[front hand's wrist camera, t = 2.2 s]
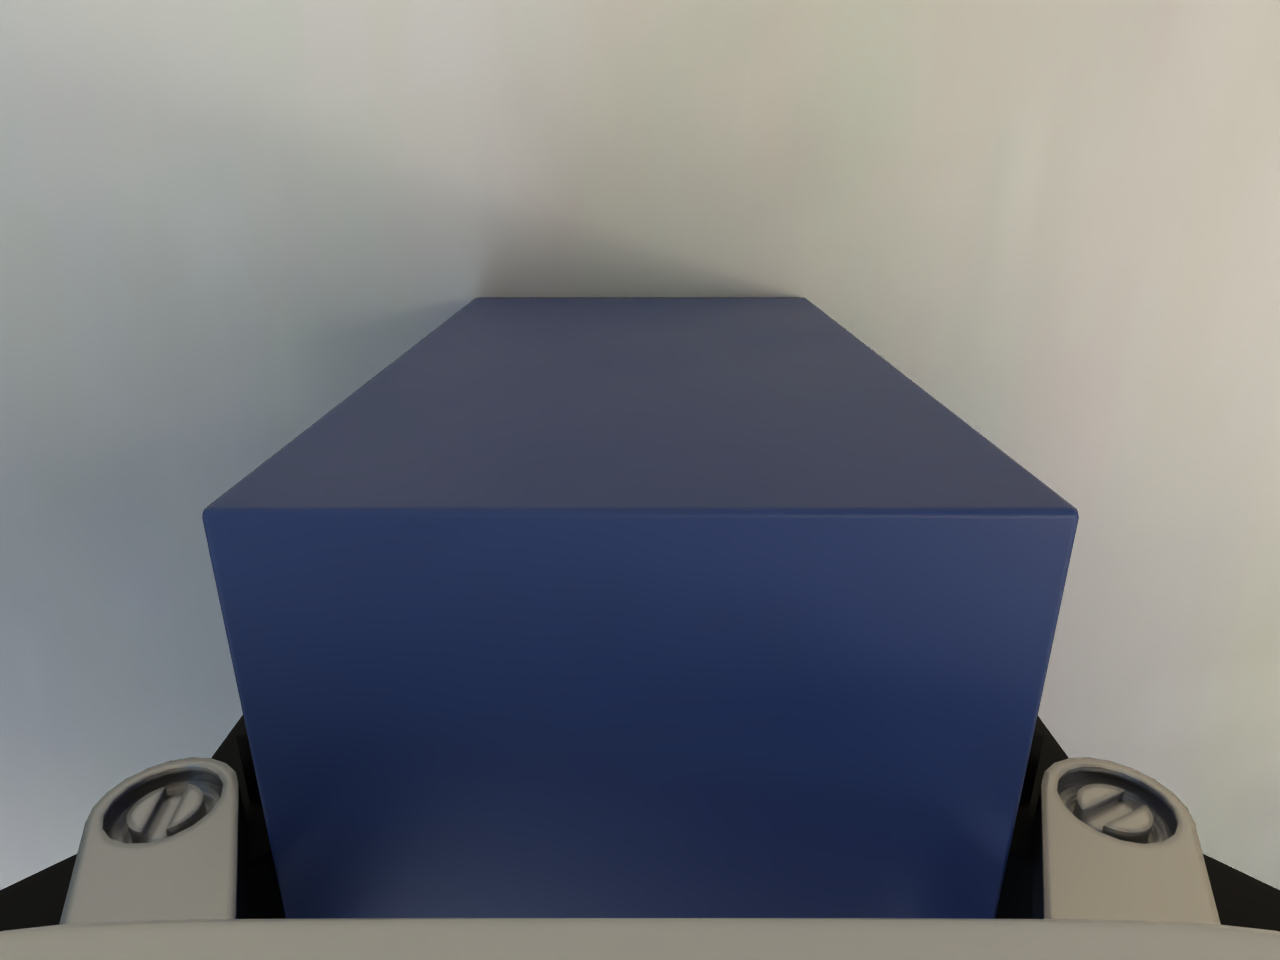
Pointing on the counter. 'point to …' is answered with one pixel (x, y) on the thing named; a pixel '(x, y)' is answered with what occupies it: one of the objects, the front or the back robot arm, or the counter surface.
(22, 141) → the counter surface
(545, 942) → the front robot arm
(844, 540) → the block
